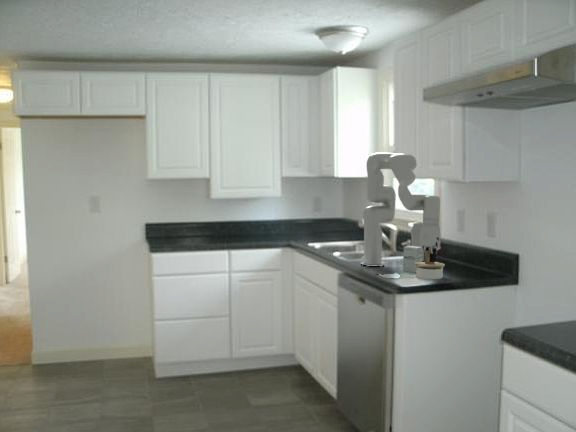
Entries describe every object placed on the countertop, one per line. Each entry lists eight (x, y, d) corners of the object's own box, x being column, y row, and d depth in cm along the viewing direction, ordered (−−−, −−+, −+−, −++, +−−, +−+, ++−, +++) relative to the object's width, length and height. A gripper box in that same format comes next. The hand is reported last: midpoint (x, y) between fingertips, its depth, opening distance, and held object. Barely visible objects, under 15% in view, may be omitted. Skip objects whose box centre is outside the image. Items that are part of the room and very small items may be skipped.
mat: (372, 275, 288) (372, 274, 288) (396, 273, 294) (396, 272, 294) (389, 280, 275) (390, 279, 275) (414, 278, 281) (414, 277, 281)
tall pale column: (411, 262, 332) (412, 222, 331) (408, 261, 336) (409, 222, 335) (428, 261, 335) (430, 222, 334) (425, 260, 339) (426, 221, 338)
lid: (408, 264, 285) (409, 249, 285) (431, 262, 291) (432, 248, 291) (427, 268, 273) (427, 253, 273) (450, 266, 279) (451, 252, 279)
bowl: (411, 276, 285) (412, 266, 285) (431, 275, 290) (431, 264, 290) (427, 281, 275) (427, 270, 275) (447, 279, 280) (447, 268, 280)
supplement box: (402, 271, 300) (402, 246, 299) (409, 270, 306) (409, 245, 305) (415, 273, 295) (416, 248, 294) (422, 271, 301) (423, 246, 300)
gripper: (413, 221, 287) (412, 259, 288) (436, 224, 272) (434, 264, 273) (426, 220, 290) (424, 258, 291) (449, 223, 275) (447, 263, 276)
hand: (429, 260), depth 282 cm, fingers closed on lid, 3 cm apart
